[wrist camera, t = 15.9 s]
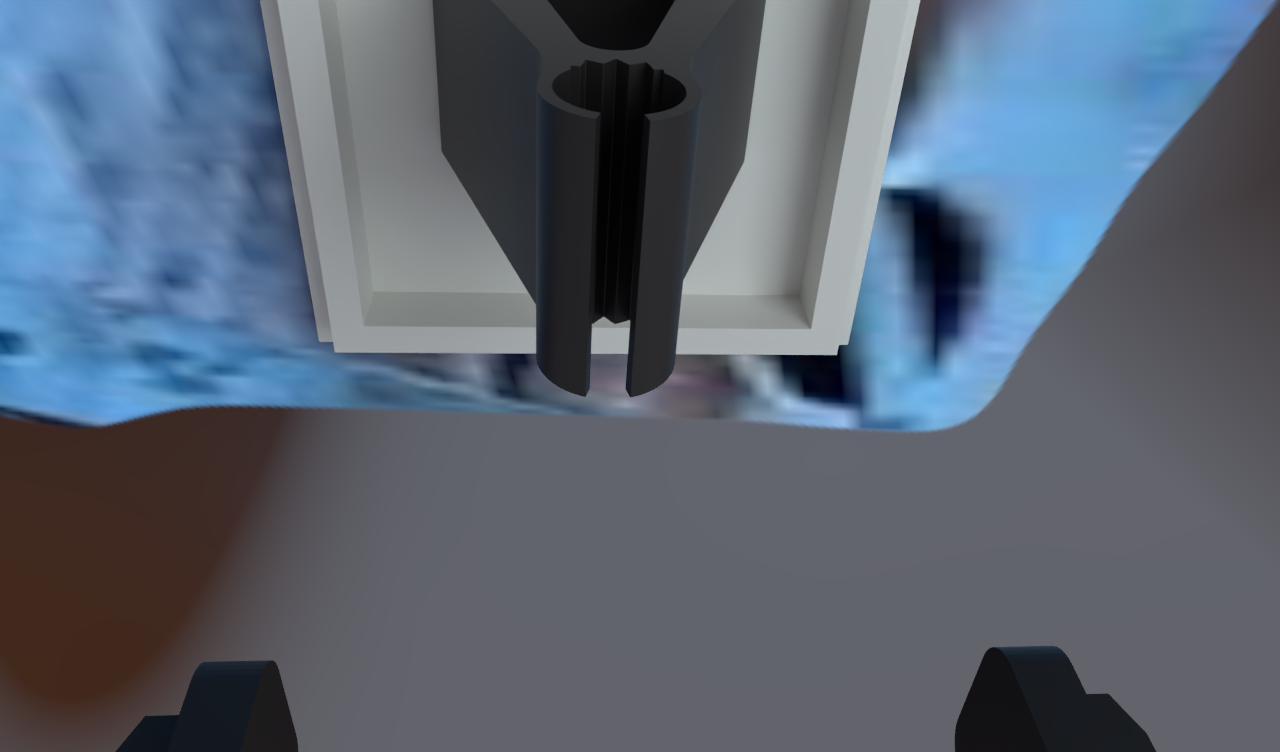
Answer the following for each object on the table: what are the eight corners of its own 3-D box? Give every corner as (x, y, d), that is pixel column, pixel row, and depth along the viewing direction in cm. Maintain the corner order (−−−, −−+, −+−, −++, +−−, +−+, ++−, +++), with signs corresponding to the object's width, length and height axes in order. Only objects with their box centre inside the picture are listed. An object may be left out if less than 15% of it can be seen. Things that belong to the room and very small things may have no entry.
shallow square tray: (325, 321, 35) (306, 377, 32) (203, -419, 23) (156, -423, 20) (840, 325, 36) (861, 379, 33) (980, -370, 24) (1030, -370, 21)
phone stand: (441, 144, 30) (382, 394, 20) (430, -72, 26) (351, 106, 17) (742, 156, 31) (822, 402, 21) (771, -53, 27) (884, 129, 17)
